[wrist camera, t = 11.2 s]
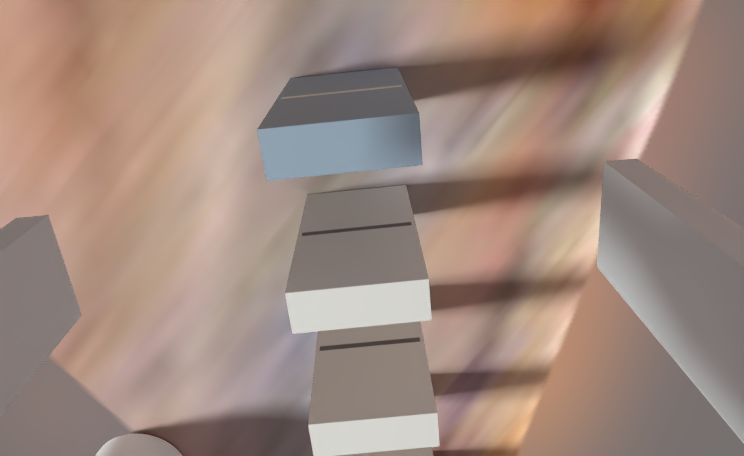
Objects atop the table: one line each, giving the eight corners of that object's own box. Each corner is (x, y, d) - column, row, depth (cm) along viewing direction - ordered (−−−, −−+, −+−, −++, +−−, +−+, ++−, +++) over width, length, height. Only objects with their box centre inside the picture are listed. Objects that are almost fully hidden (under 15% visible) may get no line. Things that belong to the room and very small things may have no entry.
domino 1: (307, 194, 35) (284, 292, 24) (406, 184, 35) (428, 278, 24) (311, 225, 36) (292, 333, 25) (408, 215, 36) (431, 320, 25)
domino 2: (321, 295, 38) (308, 424, 27) (413, 286, 38) (437, 412, 27) (325, 321, 39) (313, 457, 28) (415, 313, 39) (439, 446, 28)
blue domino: (290, 78, 33) (257, 129, 22) (397, 66, 33) (419, 112, 22) (295, 113, 34) (266, 180, 22) (400, 103, 33) (422, 165, 22)
